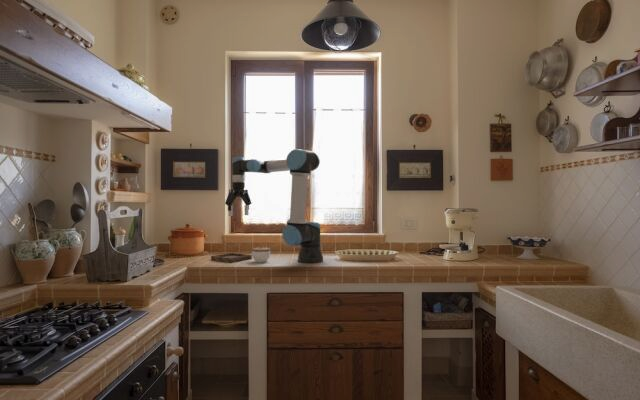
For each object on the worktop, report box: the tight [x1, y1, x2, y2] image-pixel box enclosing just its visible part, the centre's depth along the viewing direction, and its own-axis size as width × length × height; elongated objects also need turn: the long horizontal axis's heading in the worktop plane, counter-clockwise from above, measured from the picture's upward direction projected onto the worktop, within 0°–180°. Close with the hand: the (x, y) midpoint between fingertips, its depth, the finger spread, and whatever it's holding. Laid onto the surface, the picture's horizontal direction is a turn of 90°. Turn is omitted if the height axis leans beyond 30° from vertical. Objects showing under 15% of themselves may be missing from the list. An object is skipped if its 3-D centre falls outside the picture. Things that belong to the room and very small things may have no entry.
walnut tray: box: [210, 252, 253, 264], centre depth 237 cm, size 17×17×2 cm
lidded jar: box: [251, 245, 271, 263], centre depth 230 cm, size 11×11×9 cm
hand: (238, 215), depth 247 cm, fingers open, 13 cm apart
